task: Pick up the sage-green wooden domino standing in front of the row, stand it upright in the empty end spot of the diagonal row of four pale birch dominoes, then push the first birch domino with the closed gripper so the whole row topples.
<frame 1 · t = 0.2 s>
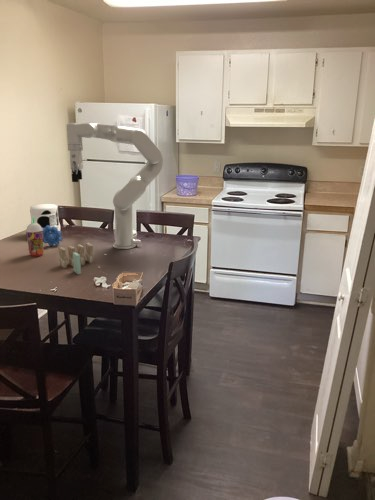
hand: (77, 180, 231), 37 cm above the table, tool pointing down, fingers open, 9 cm apart
domino 1: (90, 261, 217), on the table
domino 2: (81, 263, 214), on the table
smoothie: (36, 255, 226), on the table
domino 3: (72, 264, 212), on the table
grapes: (51, 246, 241), on the table
domino 4: (63, 266, 210), on the table
domino 5: (77, 272, 202), on the table
milk container: (46, 235, 263), on the table
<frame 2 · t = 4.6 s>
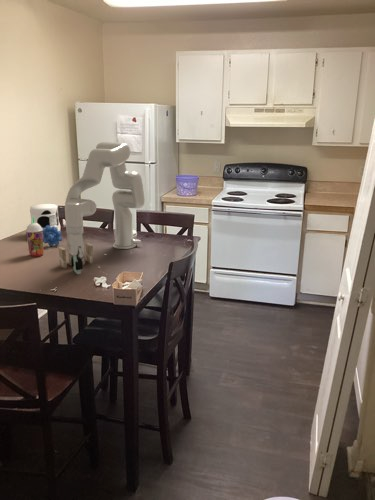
hand: (77, 267, 201), 2 cm above the table, tool pointing down, fingers closed on domino 5, 4 cm apart
domino 5: (77, 272, 202), on the table, touching gripper
everything else where it was.
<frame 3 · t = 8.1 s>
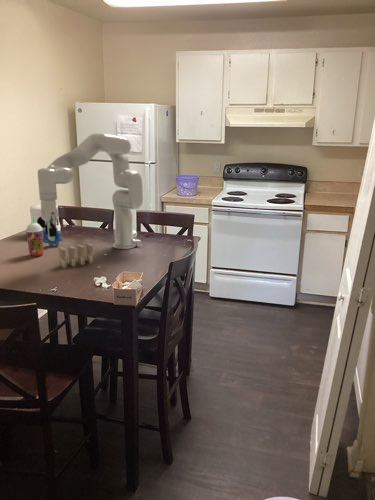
hand: (51, 234, 202), 16 cm above the table, tool pointing down, fingers closed on domino 5, 4 cm apart
domino 5: (51, 239, 203), point 14 cm above the table, touching gripper
everything else where it was.
when the fingers open (3 cm above the table, at t = 11.4 s): domino 5 stays where it is, on the table.
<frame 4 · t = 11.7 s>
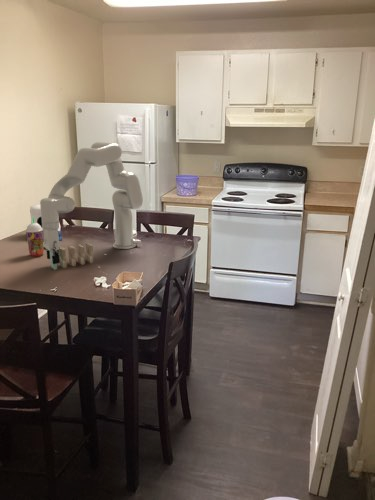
hand: (53, 260, 206), 3 cm above the table, tool pointing down, fingers open, 8 cm apart
domino 5: (54, 267, 207), on the table
everything else where it was.
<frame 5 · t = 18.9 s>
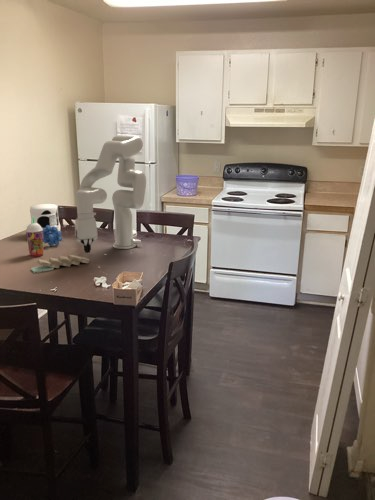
hand: (87, 252, 215), 5 cm above the table, tool pointing down, fingers closed
domino 1: (87, 260, 216), point 1 cm above the table, tilted 70°, touching domino 2
domino 2: (77, 262, 213), point 1 cm above the table, tilted 69°, touching domino 1, domino 3
domino 3: (68, 263, 211), point 1 cm above the table, tilted 71°, touching domino 2
domino 4: (57, 265, 208), point 1 cm above the table, tilted 70°
domino 5: (51, 267, 207), on the table, tilted 90°
everything else where it was.
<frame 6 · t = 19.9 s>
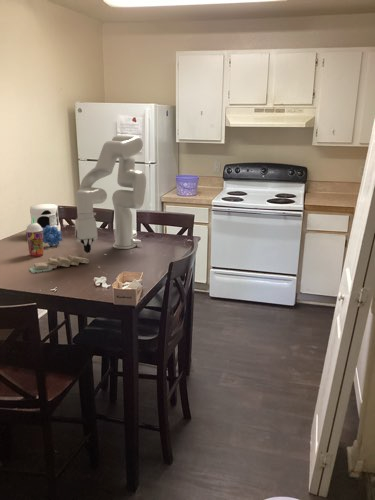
hand: (87, 252, 215), 5 cm above the table, tool pointing down, fingers closed
domino 1: (86, 260, 216), point 1 cm above the table, tilted 71°
domino 2: (76, 262, 212), point 1 cm above the table, tilted 68°, touching domino 3
domino 3: (67, 264, 210), point 1 cm above the table, tilted 68°, touching domino 2
domino 4: (54, 264, 207), point 1 cm above the table, tilted 84°, touching domino 5
domino 5: (50, 268, 206), on the table, tilted 90°, touching domino 4
everything else where it was.
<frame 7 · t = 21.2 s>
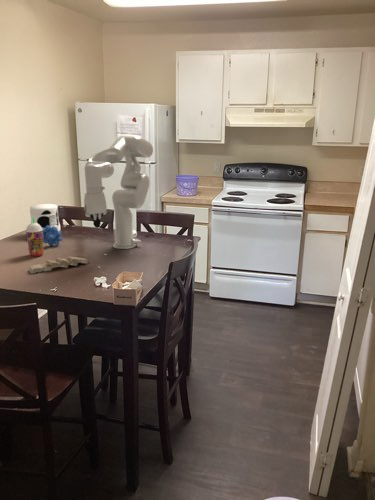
hand: (97, 226, 215), 17 cm above the table, tool pointing down, fingers closed
domino 1: (85, 260, 215), point 1 cm above the table, tilted 72°, touching domino 2
domino 2: (74, 263, 212), point 1 cm above the table, tilted 70°, touching domino 1
domino 3: (65, 264, 209), point 1 cm above the table, tilted 70°, touching domino 4
domino 4: (50, 265, 205), point 2 cm above the table, tilted 90°, touching domino 3, domino 5
everything else where it was.
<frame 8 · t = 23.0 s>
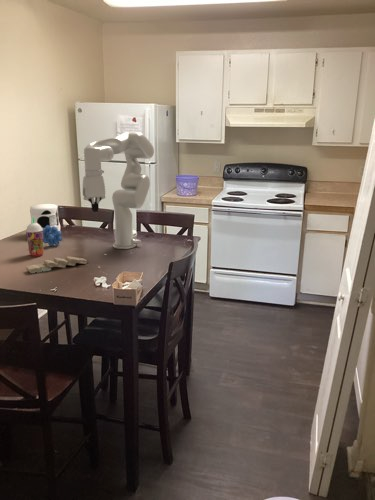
hand: (95, 211, 212), 25 cm above the table, tool pointing down, fingers closed
domino 2: (73, 263, 212), point 1 cm above the table, tilted 72°, touching domino 1, domino 3
domino 3: (63, 264, 209), point 1 cm above the table, tilted 72°, touching domino 2
domino 4: (47, 265, 205), point 2 cm above the table, tilted 90°, touching domino 5
at the end: domino 5 tilted 90°; domino 1 tilted 72°; domino 5 0.9 cm from the domino 4 (horizontally) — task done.
